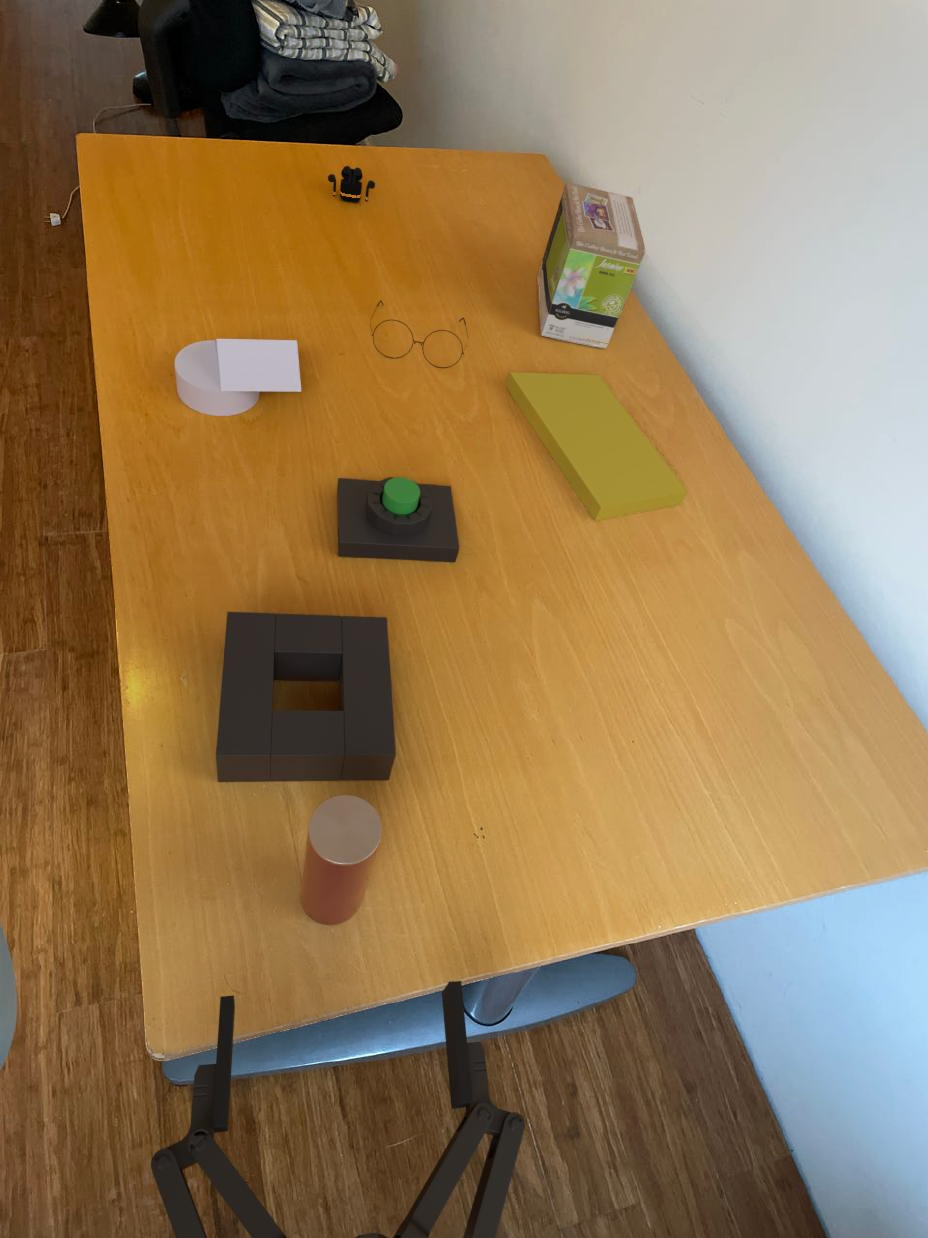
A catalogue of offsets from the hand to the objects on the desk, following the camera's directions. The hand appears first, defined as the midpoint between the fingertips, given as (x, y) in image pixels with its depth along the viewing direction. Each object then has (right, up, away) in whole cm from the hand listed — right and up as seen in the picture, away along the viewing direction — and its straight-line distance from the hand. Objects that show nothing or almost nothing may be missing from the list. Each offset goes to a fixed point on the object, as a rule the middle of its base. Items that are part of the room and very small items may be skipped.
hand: (342, 993), depth 50 cm
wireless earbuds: (-10, +87, +75) cm, 115 cm away
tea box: (+23, +67, +67) cm, 97 cm away
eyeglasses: (+1, +59, +56) cm, 82 cm away
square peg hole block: (-6, +15, +20) cm, 26 cm away
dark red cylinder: (-2, +2, +11) cm, 11 cm away
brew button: (+1, +35, +32) cm, 47 cm away
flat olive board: (+23, +44, +50) cm, 71 cm away
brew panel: (0, +33, +35) cm, 48 cm away
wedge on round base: (-19, +49, +43) cm, 68 cm away
